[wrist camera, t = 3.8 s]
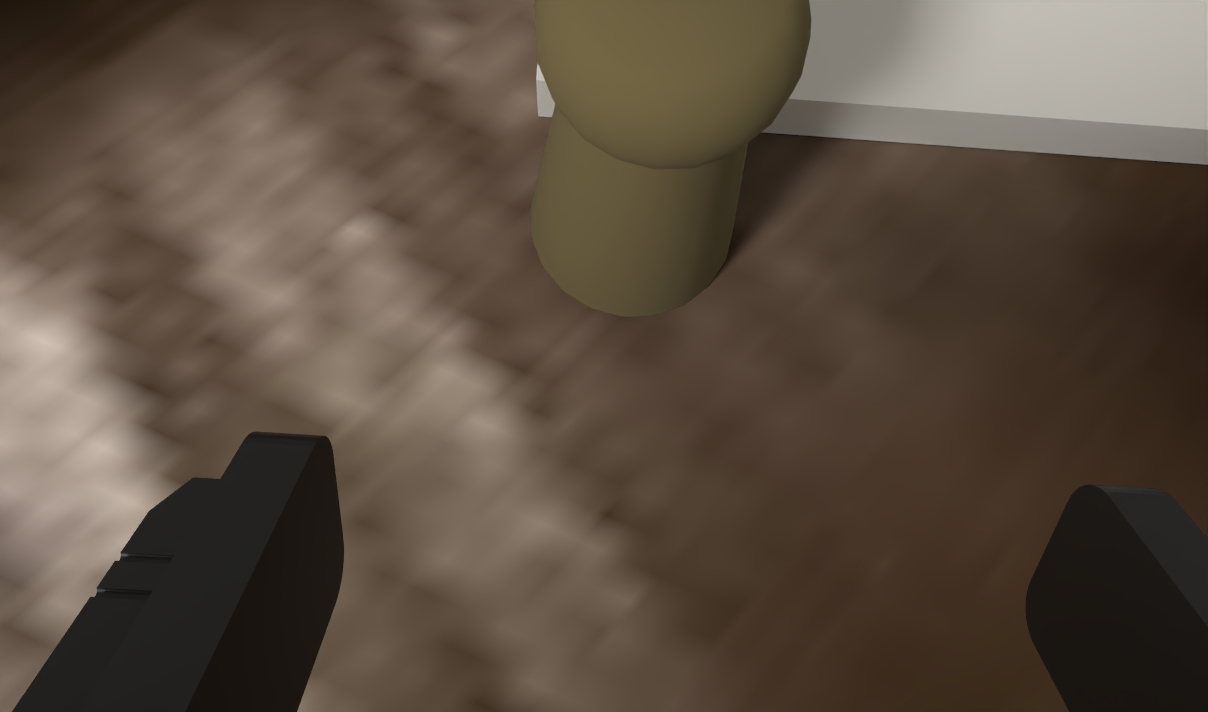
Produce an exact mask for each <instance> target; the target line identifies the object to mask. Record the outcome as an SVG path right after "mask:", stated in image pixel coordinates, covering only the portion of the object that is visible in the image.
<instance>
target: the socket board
mask: <svg viewBox="0 0 1208 712" xmlns="http://www.w3.org/2000/svg"><path fill="white" fill-rule="evenodd" d="M809 3H810V11H811V19H812V21H811V34H810V41H809V46H808V50H807V54H806V58H805V63H804V67H803V71H802V76H801V78H800V79H799V81H798V83H797V85H796V87H795V89H794V91H793V93H792V94H791V96H790V97H789V99H788V100H787V102H786V103H785V105H784V106H783V108H782V109H781V111H780V112H779V114H778V115H777V117H776V118H775V120H774V121H773V123H772V124H771V125H770V126H769V127H767V128H766V129H765V130H764V131H762V132H763V133H777V134H790V135H804V136H818V137H832V138H846V139H860V140H873V141H887V142H901V143H915V144H929V145H943V146H957V147H970V148H984V149H998V150H1012V151H1026V152H1040V153H1053V154H1067V155H1081V156H1095V157H1109V158H1123V159H1136V160H1150V161H1164V162H1178V163H1192V164H1206V165H1208V0H809ZM536 83H537V102H538V116H541V117H552V115H553V111H554V107H555V102H554V101H553V99H552V96H551V94H550V92H549V89H548V87H547V84H546V82H545V79H544V77H543V74H542V72H541V70H540V67H539V65H538V66H537V78H536Z"/></svg>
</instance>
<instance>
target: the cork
mask: <svg viewBox="0 0 1208 712" xmlns="http://www.w3.org/2000/svg"><path fill="white" fill-rule="evenodd" d="M534 6H535V31H536V50H537V62H538V65H539V67H540V70H541V72H542V74H543V77H544V79H545V82H546V84H547V87H548V89H549V92H550V94H551V96H552V99H553V101H554V102H555V107H554V111H553V115H552V119H551V124H550V128H549V132H548V136H547V140H546V145H545V149H544V153H543V157H542V161H541V166H540V170H539V174H538V178H537V182H536V187H535V191H534V195H533V199H532V203H531V207H530V208H531V235H532V240H533V243H534V245H535V248H536V250H537V253H538V255H539V258H540V261H541V263H542V266H543V267H544V269H545V270H546V271H547V272H548V273H549V275H550V276H551V277H552V278H553V279H554V281H555V282H556V283H557V284H558V285H559V287H560V288H561V289H562V290H563V291H564V292H566V293H567V294H569V295H570V296H572V297H574V298H575V299H577V300H578V301H580V302H581V303H583V304H585V305H586V306H588V307H589V308H591V309H595V310H599V311H603V312H606V313H610V314H614V315H617V316H621V317H629V316H655V315H658V314H660V313H663V312H666V311H669V310H671V309H674V308H677V307H680V306H682V305H685V304H686V303H688V302H689V301H690V300H691V299H693V298H694V297H695V296H696V295H698V294H699V293H700V292H702V291H703V290H704V289H705V288H707V287H708V286H709V285H710V284H711V282H712V281H713V279H714V278H715V276H716V274H717V273H718V271H719V270H720V268H721V267H722V265H723V264H724V262H725V261H726V258H727V254H728V249H729V245H730V241H731V237H732V233H733V228H734V222H735V217H736V211H737V205H738V200H739V194H740V188H741V183H742V177H743V171H744V166H745V160H746V154H747V148H748V143H749V141H750V140H752V139H753V138H754V137H756V136H757V135H758V134H760V133H761V132H762V131H764V130H765V129H766V128H767V127H769V126H770V125H771V124H772V123H773V121H774V120H775V118H776V117H777V115H778V114H779V112H780V111H781V109H782V108H783V106H784V105H785V103H786V102H787V100H788V99H789V97H790V96H791V94H792V93H793V91H794V89H795V87H796V85H797V83H798V81H799V79H800V78H801V76H802V71H803V67H804V63H805V58H806V54H807V50H808V46H809V41H810V34H811V21H812V19H811V11H810V3H809V0H536V2H535V5H534Z"/></svg>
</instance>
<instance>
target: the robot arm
mask: <svg viewBox="0 0 1208 712" xmlns="http://www.w3.org/2000/svg"><path fill="white" fill-rule="evenodd" d="M343 562H344V541H343V532H342V524H341V515H340V507H339V499H338V490H337V482H336V473H335V465H334V457H333V450H332V446H331V443H330V440H329V439H328V438H327V437H326V436H320V435H303V434H287V433H271V432H252V433H250V434H249V435H248V436H247V437H246V438H245V440H244V441H243V443H242V444H241V446H240V447H239V449H238V451H237V452H236V454H235V456H234V457H233V459H232V461H231V462H230V464H229V466H228V467H227V469H226V471H225V472H224V474H223V476H222V477H221V479H209V478H192V479H191V480H190V481H188V482H187V483H186V484H184V485H183V486H182V487H180V488H179V489H178V490H176V491H175V492H174V493H172V494H171V495H170V496H168V497H167V498H166V499H164V500H163V501H162V502H160V503H159V504H158V505H156V506H155V507H154V508H152V509H151V510H150V511H149V512H148V513H147V515H146V516H145V518H144V519H143V521H142V522H141V524H140V525H139V527H138V528H137V529H136V531H135V532H134V534H133V535H132V537H131V538H130V540H129V541H128V543H127V544H126V546H125V547H124V548H123V550H122V551H121V558H120V560H119V561H115V562H114V563H113V565H112V566H111V568H110V569H109V570H108V572H107V573H106V575H105V576H104V578H103V579H102V581H101V582H100V584H99V585H98V587H97V593H96V596H95V597H90V598H89V600H88V601H87V603H86V604H85V606H84V607H83V609H82V610H81V611H80V613H79V614H78V616H77V617H76V619H75V620H74V622H73V623H72V625H71V626H70V628H69V629H68V630H67V632H66V633H65V635H64V636H63V638H62V639H61V641H60V642H59V644H58V645H57V647H56V648H55V650H54V651H53V652H52V654H51V655H50V657H49V658H48V660H47V661H46V663H45V664H44V666H43V667H42V669H41V670H40V671H39V673H38V674H37V676H36V677H35V679H34V680H33V682H32V683H31V685H30V686H29V688H28V689H27V691H26V692H25V693H24V695H23V696H22V698H21V699H20V701H19V702H18V704H17V705H16V707H15V708H14V710H13V711H12V712H297V710H298V707H299V705H300V702H301V699H302V696H303V693H304V691H305V688H306V685H307V682H308V679H309V677H310V674H311V671H312V668H313V665H314V663H315V660H316V657H317V654H318V651H319V649H320V646H321V643H322V640H323V637H324V635H325V632H326V629H327V626H328V623H329V621H330V618H331V615H332V612H333V609H334V607H335V604H336V601H337V597H338V594H339V589H340V585H341V579H342V572H343ZM1026 619H1027V625H1028V629H1029V633H1030V636H1031V639H1032V641H1033V643H1034V645H1035V647H1036V649H1037V651H1038V653H1039V655H1040V657H1041V659H1042V661H1043V662H1044V664H1045V666H1046V668H1047V670H1048V672H1049V674H1050V676H1051V678H1052V680H1053V681H1054V683H1055V685H1056V687H1057V689H1058V691H1059V693H1060V695H1061V697H1062V699H1063V701H1064V702H1065V704H1066V706H1067V708H1068V710H1069V712H1208V538H1207V537H1206V535H1205V534H1204V533H1203V532H1202V531H1201V530H1200V528H1199V527H1198V526H1197V525H1196V524H1195V523H1194V521H1193V520H1192V519H1191V518H1190V517H1189V516H1188V514H1187V513H1186V512H1185V511H1184V510H1183V508H1182V507H1181V506H1180V505H1179V504H1178V503H1177V501H1176V500H1175V499H1174V498H1173V497H1172V496H1171V495H1169V494H1168V493H1166V492H1164V491H1162V490H1159V489H1152V488H1135V487H1119V486H1102V485H1084V486H1082V487H1079V488H1078V489H1077V490H1076V491H1075V492H1074V493H1073V494H1072V495H1071V497H1070V499H1069V500H1068V502H1067V505H1066V507H1065V509H1064V511H1063V513H1062V515H1061V517H1060V519H1059V522H1058V524H1057V526H1056V528H1055V530H1054V532H1053V534H1052V536H1051V539H1050V541H1049V543H1048V545H1047V547H1046V549H1045V551H1044V553H1043V556H1042V558H1041V560H1040V562H1039V564H1038V566H1037V568H1036V570H1035V573H1034V575H1033V577H1032V579H1031V581H1030V584H1029V586H1028V590H1027V595H1026Z"/></svg>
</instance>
